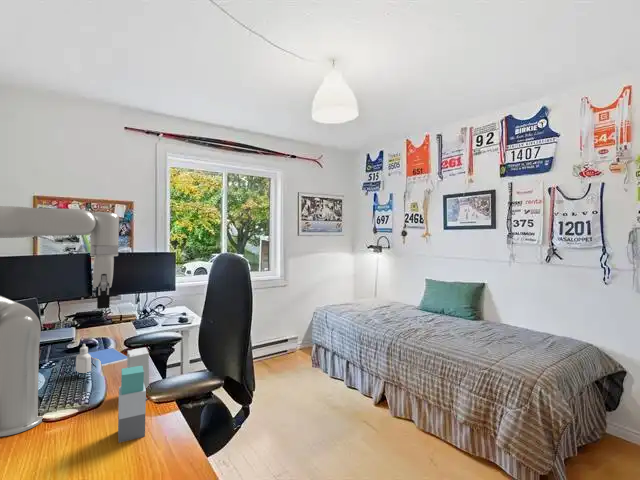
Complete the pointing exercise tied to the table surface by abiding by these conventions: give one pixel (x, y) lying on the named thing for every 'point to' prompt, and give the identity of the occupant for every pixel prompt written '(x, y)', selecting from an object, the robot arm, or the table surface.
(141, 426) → the tower base
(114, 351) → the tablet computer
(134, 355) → the skincare box
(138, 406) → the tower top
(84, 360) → the eye dropper bottle
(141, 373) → the teal block
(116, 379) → the table surface
